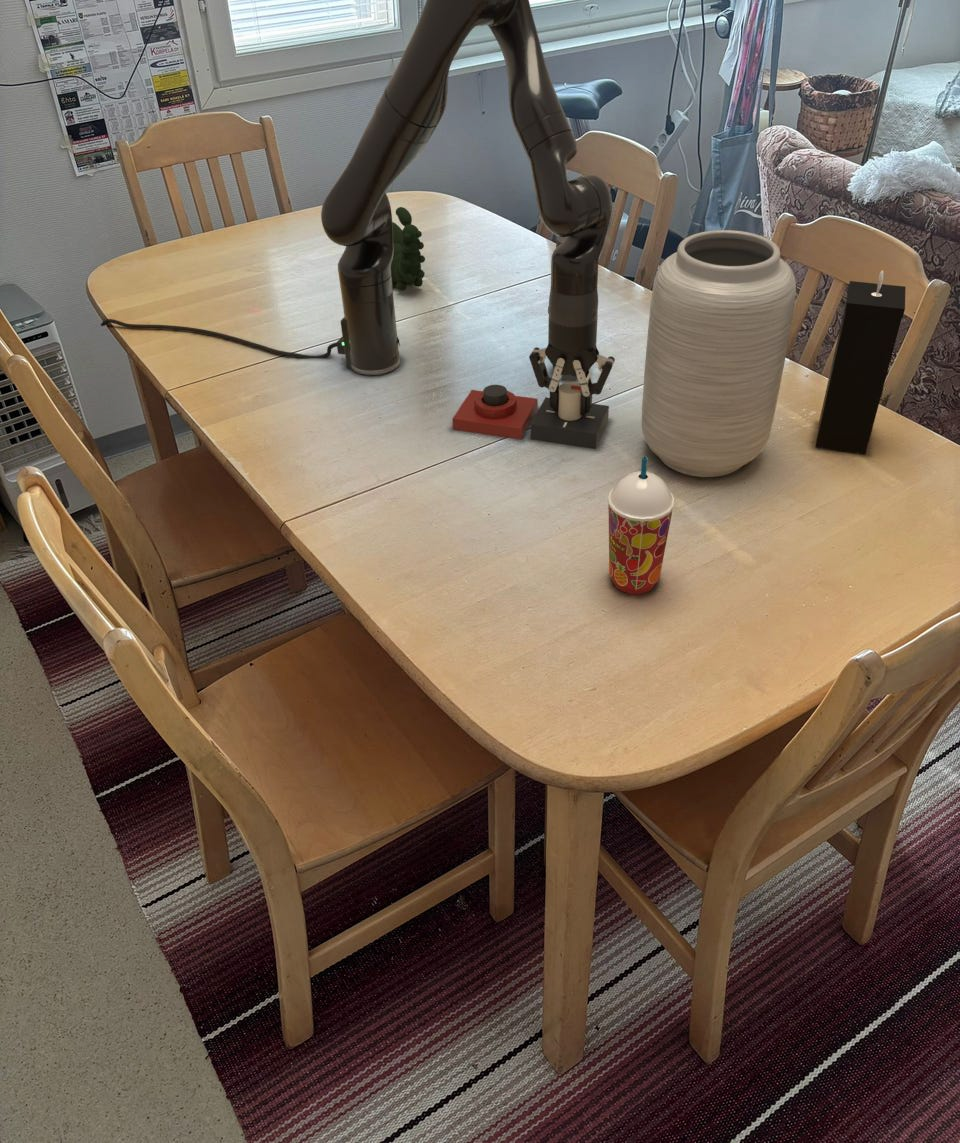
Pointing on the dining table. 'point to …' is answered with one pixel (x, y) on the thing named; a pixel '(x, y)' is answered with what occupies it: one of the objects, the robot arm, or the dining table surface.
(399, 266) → the dark green lumpy figure
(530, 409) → the button housing
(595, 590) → the dining table surface
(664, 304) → the vase
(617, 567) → the smoothie
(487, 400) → the button
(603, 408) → the control panel
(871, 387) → the black pillar candle
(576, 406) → the knob
